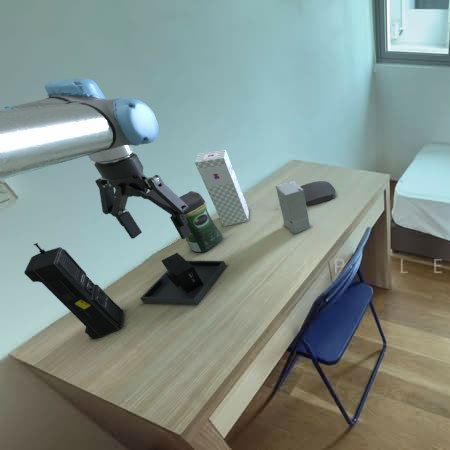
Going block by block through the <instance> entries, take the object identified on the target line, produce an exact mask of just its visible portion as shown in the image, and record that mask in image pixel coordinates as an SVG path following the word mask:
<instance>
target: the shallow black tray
mask: <svg viewBox="0 0 450 450" xmlns="http://www.w3.org/2000/svg"><path fill="white" fill-rule="evenodd" d="M185 260H186V259H185ZM186 261H187V262H189V263H190V264H191V265H192V266H193V267H194V269H195V271H196V272H197V274H198V276H199V278H200V279H201V281H202V283H203V285H201V286H199V287H197V288H196V289H194V290H192V291H191V292H189V293H187V292H186V291H185V290H184V289H183V288H182V287H181V286H178V287H176V286H175V285H174V284H173V283H172V281H171V280H170V279H169V277H168V276H167V273H169V272H168V270H167V269H166V271H165V272H164V273H163V274H162V275H161V277H159V278H158V279H157V280H156V281H155V282H154V283H153V284H152V285H151V287H149V288H148V290H146V292H145V293H144V294H142V295H141V297H140V298H139V299H140V301H141V302H142V303H143V304H144V305H145V304H146V305H148V304H149V305H180V306H181V305H182V306H198V305H199V304H200V301H201V300H203V298H204V296H206V294H207V293H208V291H209V290H210V289H211V287H212V286H213V285H214V283H215V282H216V281H217V280H218V279H219V277H220V276H221V274H222V273H223V272H224V271H225V270H226V268H227V264H226V261H225V260H189V259H188V260H186Z"/></svg>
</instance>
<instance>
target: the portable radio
mask: <svg viewBox="0 0 450 450" xmlns="http://www.w3.org/2000/svg"><path fill="white" fill-rule="evenodd" d="M33 246H35V247H36V248H37V249H38V250H39V253H37V254H35V255H33V256H31V258H30V259H29V262H28V263H27V265H26V267H25V270H24V275H25V276H26V277H27V278H28V279H29V280H30V281H31V282H32V283H41V284H42V285H43V286H44V287H46V289H47V290H49V292H50V293H51V294H52V295H53V296H55V298H56V299H57V300H59V302H60V303H61V304H63V306H64V307H66V309H68V311H70V313H72V314H73V315H74V316H75V317H76V319H78V320H79V321H80V322H81V324H83V325H84V327H85V329H84V333H85V334H86V335H87V336H88V337H89V338H91V340H94V339H98V338H101V337H104V336H107V335H109V334H111V333H114V332H116V331H119V330H120V329H121V328H122V325H123V317H124V316H123V315H124V310H123V309H122V308H121V307H120V306H119V305H118V304H117V303H116V302H115V301H114V300H113V299H112V298H111V297H110V296H109V295H108V294H107V293H106V292H105V291H104V289H102V288H101V287H100V285H99V284H97V283H94V282H93V280H91V278H90V277H89V276H88V275H87V273H86V272H85V271H84V269H83V267H81V265H79V264H78V263H77V262H76V260H75V259H74V258H73V257H72V256H71V255H70V254H69V252H68V251H67V250H66V249H64V248H63V247H61V246H59V247H56V248H52V249H48V250H45V249H44V248H41V247H40V246H39V243H38V242H37V243H34V244H33Z"/></svg>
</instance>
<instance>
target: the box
mask: <svg viewBox="0 0 450 450" xmlns="http://www.w3.org/2000/svg"><path fill="white" fill-rule="evenodd" d="M194 164H195V166H196V168H197V169H196V170H197V171H198V174H199V176H200V177H201V180H202V181H203V184H204V186H205V189H206V191H207V193H208V195H209V197H210V200H211V202H212V204H213V206H214V208H215V211H216V213H217V216H218V217H219V219H220V222H221V224H222V227H228V226H233V225H237V224H241V223H246V222H249V212H250V211H249V208H248V205H247V202H246V199H245V197H244V194H243V191H242V189H241V186H240V184H239V181H238V179H237V178H238V177H237V175H236V173H235V170H234V168H233V166H232V163H231V160H230V157H229V154H228V151H227V150H226V148H224V149H217V150H211V151H206V152H199V153H198V154H197V156H196V158H195V161H194Z"/></svg>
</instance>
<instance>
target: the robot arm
mask: <svg viewBox="0 0 450 450" xmlns="http://www.w3.org/2000/svg"><path fill="white" fill-rule="evenodd" d="M44 89H45V91H46V93H47V97H46V98H43V99H39V100H34V101H31V102H25V103H22V104H18V105H12V106H5V107H4V108H1V109H0V181H2V180H5V179H10V178H12V177H17V176H20V175H24V174H26V173H31V172H34V171H37V170H41V169H44V168H48V167H51V166H56V165H59V164H62V163H65V162H69V161H72V160H76V159H81V158H84V157H86V156H87V157H88V158H89V160H90V161H92V162H94V167H95V169H96V170H97V172H98V173H99V175H100V176H101V177H100V178H98V179H95V184H96V186H97V187H98V189H99V197H100V203H101V210H102V211H101V212H102V213H103V214H104V215H111V216H112V217H115V219H116V220H117V221H118V223H119V224H120V226H122V227H123V228H124V230H125V232H126V233H127V234H128V236H129V237H130V239H133V240H134V239H136V238H137V237H138V236H139V235H140V234H141V233H143V232H142V230H141V229H140V227H139V225H138V224H137V222H136V220H135V219H134V217H133V216H132V215H131V212H130V211H128V210H127V208H126V206H127V202H128V199H129V198H131V197H135V198H142V199H143V200H148V201H150V202H152V203H153V204H154V205H156V206H157V207H159V208H160V209H162V210H163V211H165V212H166V213H168V214H169V215H170V216H169V218H170V221H171V222H172V225H174V227H175V230H176V231H177V233H178V235H179V237H180V239H182V240H186V237H187V236H188V235H189V234H190V233H191V231H190V229H189V227H188V225H187V223H188V222H187V220H186V218H185V216H184V214H183V213H184V212H185V211H187V210H188V209H189V207H188V206H187V205H186V204H185V203H184V202H183V201H182V200H181V199H180V198H179V197H180V196H178V195H177V194H176V192H174V191H173V190H172V189H171V188H169V186H167V184H166V183H165V182H164V181H163V179H162V178H161V177H160V175H158V174H155V175H153V176H150V177H147V176H146V175H145V173H144V165H143V163H142V162H141V160H140V157H138V155H137V154H136V153H134V152H135V149H134V148H133V146H134V147H137V146H140V145H148V144H152V143H154V141H156V139H157V138H158V137H159V133H160V132H159V131H160V126H159V122H158V120H157V118H156V114H155V112H154V111H153V110H152V109H151V107H150V106H149V105H148V104H146V103H145V102H143V101H141V100H139V99H136V98H135V99H134V98H121V97H120V98H114V99H113V98H112V99H108V98H107V97H105V95H104V93H103V91H102V90H101V89H100V87H99V85H98V84H97V83H96V81H94V79H93V80H92V79H91V78H86V77H79V78H78V77H77V78H67V79H59V80H53V81H49V82H47V83H45V84H44ZM173 209H174V210H175V211H174V210H173Z"/></svg>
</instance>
